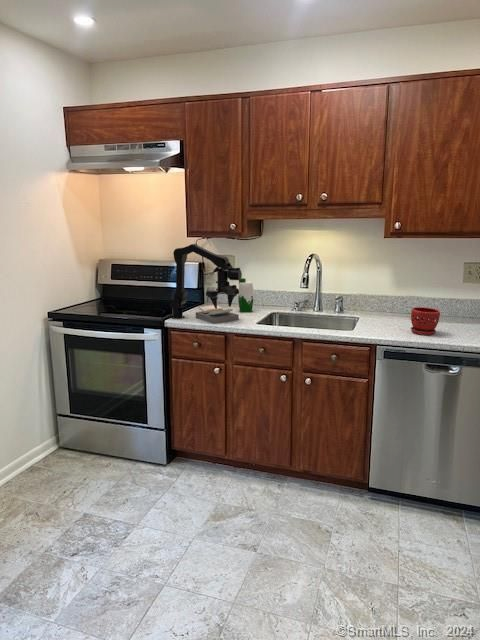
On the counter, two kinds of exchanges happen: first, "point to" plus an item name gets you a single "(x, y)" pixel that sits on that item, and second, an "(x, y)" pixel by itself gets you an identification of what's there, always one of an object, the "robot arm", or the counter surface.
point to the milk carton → (245, 295)
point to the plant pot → (424, 320)
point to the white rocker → (210, 309)
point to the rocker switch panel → (217, 317)
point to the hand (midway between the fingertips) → (222, 307)
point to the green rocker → (220, 312)
